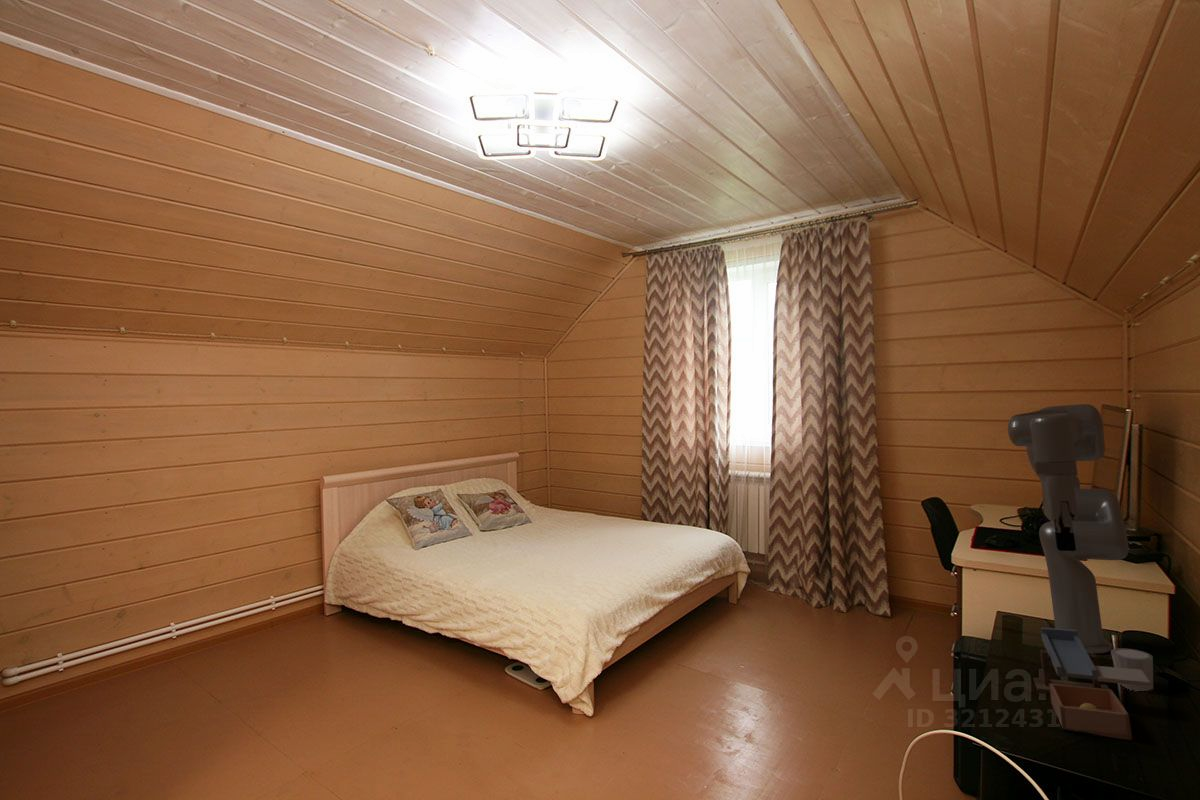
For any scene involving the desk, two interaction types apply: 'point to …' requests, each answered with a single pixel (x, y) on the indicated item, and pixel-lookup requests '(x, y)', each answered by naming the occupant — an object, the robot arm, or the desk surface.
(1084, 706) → the ball
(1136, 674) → the grey piece
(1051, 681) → the stand
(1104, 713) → the pink open box
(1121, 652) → the light grey cylinder
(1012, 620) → the desk surface
